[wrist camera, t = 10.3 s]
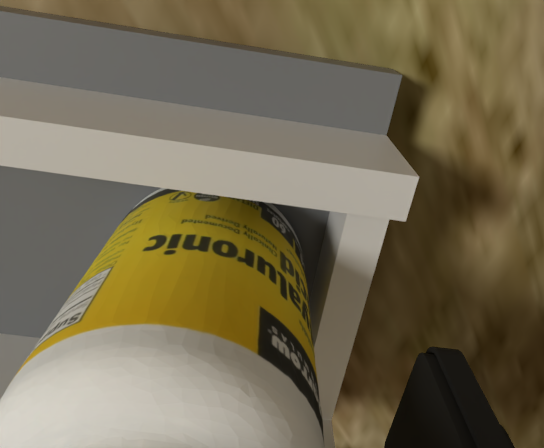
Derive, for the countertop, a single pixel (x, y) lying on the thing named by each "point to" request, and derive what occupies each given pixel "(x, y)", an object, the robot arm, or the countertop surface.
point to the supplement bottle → (178, 338)
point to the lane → (187, 162)
